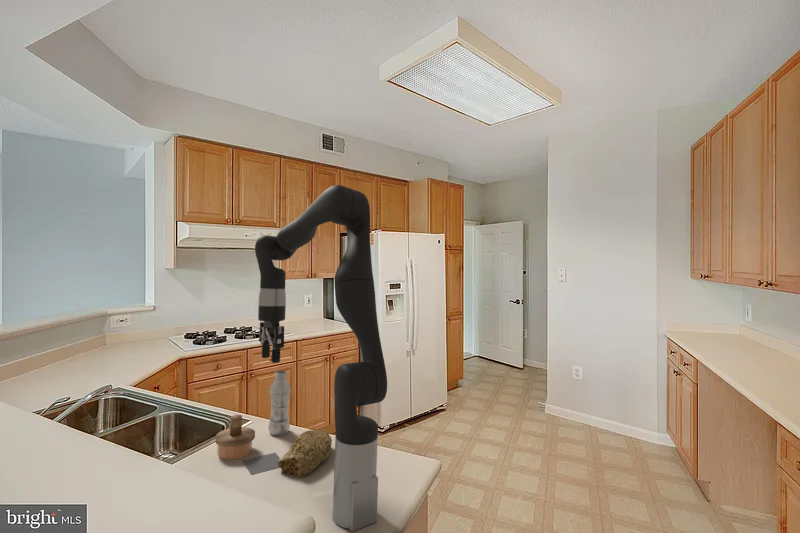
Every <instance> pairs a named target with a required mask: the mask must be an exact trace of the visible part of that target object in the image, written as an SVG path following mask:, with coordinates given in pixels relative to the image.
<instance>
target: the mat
mask: <svg viewBox="0 0 800 533" xmlns="http://www.w3.org/2000/svg"><path fill="white" fill-rule="evenodd" d="M279 459H281V458H280V457H279V455H278V454H277V453H276V452H272V453H267V454H264V455H259V456H254V457H251V458H247V459H246V458H245V459H242V460H241V461H242V462H243V465H244V466H245V467H246V469H247V470H248V473H249V474H250V475H251V476H254V475H257V474H261V473H265V472H268V471H271V470H275V469H276V470H277V469H280V468H279V466H278V463H277V462H278V460H279Z"/></svg>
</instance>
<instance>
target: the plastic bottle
mask: <svg viewBox="0 0 800 533" xmlns="http://www.w3.org/2000/svg"><path fill="white" fill-rule="evenodd" d="M274 374H275V375H274V379H275V380H274V381H273V382H272V384H271V385H270V389H269V392H270V393H269V394H270V395H269V396H270V405H271V406H270V407H271V408H270V409H271V410H270V418H269V422H268V431H269V432H268V433H269V434H270V435H271V436H274V437H279V436H285V435H286V434H287V435H288V432H289V431H290V419H289V404H290V401H289V400H290V395H291V385H290V383H289V382H288V380H287V378H288V373H287V371H286V370H278V371H277V370H276V371H275V373H274Z"/></svg>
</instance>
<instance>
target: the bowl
mask: <svg viewBox="0 0 800 533" xmlns="http://www.w3.org/2000/svg"><path fill="white" fill-rule="evenodd" d="M216 448H217V450H216V452H217V453H216V455H217V456H218V458H220V459H222V460H236V459H240V458H244V457H245V456H248V455H249V454H250V453H251V451H252V449H253V440H252V441H251V442H249V443H246V444H243V445H239V446H232V447H226V446H220V445H218V444H217V446H216Z"/></svg>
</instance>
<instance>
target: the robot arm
mask: <svg viewBox="0 0 800 533" xmlns="http://www.w3.org/2000/svg"><path fill="white" fill-rule="evenodd" d="M330 222H331V223H333V224H335V225H336V224H337V225H341V226H344V227H345V229H346V242H347V243H346V244H347V245H346V250H345V253H344V254H343V257H342V259H341V260H340V263H339V264H338V266H337V268H336V272H335V275H334V295H335V304H336V308H337V310H338V312H339V314H340V315H341V317H342V318H343V320H344V322H345V323H346V324H347V325H348V327H349V329H351V331H352V332H353V334H354V336H355V337H356V339H357V341H358V343H359V347H360V350H361V355H362V361H358V362H348V363H347V362H346V363H342V364H340V365H339V366H338V367H337V368H336V371H335V375H334V380H333V387H334V388H333V392H334V397H333V398H334V415H333V416H334V428H335V438H334V439H335V440H334V442H335V444H334V466H333V467H334V468H333V489H332V490H333V494H332V495H333V496H332V497H333V498H332V503H333V504H332V520H333V522H334V524H336V525H337V526H339V527H341V528H345V529H349V531H350V532H355V531H358V530H359V529H362V528H365V527H366V526H367V527H368V526H369V525H372V524H374V523H376V522H378V498H379V495H378V493H379V477H378V476H377V472H378V471H377V469H378V468H377V466H378V464H377V463H378V442H379V441H378V440H379V438H378V437H379V426H378V423H377V422H376V421H375V420H374V419H373V418H371V417H368V416H364V415H360V414H358V412H357V409H358V408H357V407H362V406H367V405H373V404H378V403H380V402H381V403H382V402H383V401H384V400H385V398H386V396H387V392H388V377H387V370H386V369H387V368H386V365H385V357H384V354H383V353H384V352H383V349H382V348H383V347H382V344H381V338H380V337H381V336H380V332H379V323H378V315H377V314H378V313H377V305H376V304H377V302H376V289H375V280H374V274H373V266H372V265H373V264H372V263H373V262H372V251H371V208H370V202H369V199H368V197H367V196H366V194H364V193H363V192H361V191H360V190H359V191H358V190H356V189H353V188H350V187H347V186H344V185H340V184H334V185H331V186H330V187H328V188H326V189H325V190H324V191H323V192H322V193H321V194H320V195H318V197H317V198H316V199H315V200H314V201H313V202H312V203H311V204H310V205H309V206H308V208H306V209H305V211H303V213H302V214H301V215H300V216H299V217H297V218H295V219H294V220H293V221H292V222H290V223H288V224H287V225H285V226H284V227H282V228H280V230H279V231H278V232H277V234H276V236H275V235H267V234H264V235H263V234H262V235H260V236H259V237H258V238H257V240H256V242H255V246H254V252H255V257H256V260H257V264H258V269H259V273H260V280H259V282H260V283H259V292H258V293H259V294H258V311H257V314H258V315H257V317H258V318H257V319H258V321H260V323H259V334H258V335H259V336H258V342H259V343H260V345H261V358H263V359H266V358H267V359H268V358H270V356H271V363H272V364H276V363H277V364H279V363H280V361H281V349H282V348H285V326H284V325H280V322H282V321H285V320H286V303H287V302H286V301H287V295H286V279H287V278H286V276H287V275H286V271H285V270H284V269H282V268H279V267H276V266H275V265H274V262H273V261H286V260H289V259H290V258H292V257H293V255H294V254H295V253H296V252H297V250H298V249H300V248H301V247H303V246H305V245H306V244H308V243H310V242H311V241H312V240H313V239H314V238H315V235H316V232H317V229H318V228H317V227H319V226H320V225H323V224H326V223H330Z"/></svg>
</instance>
